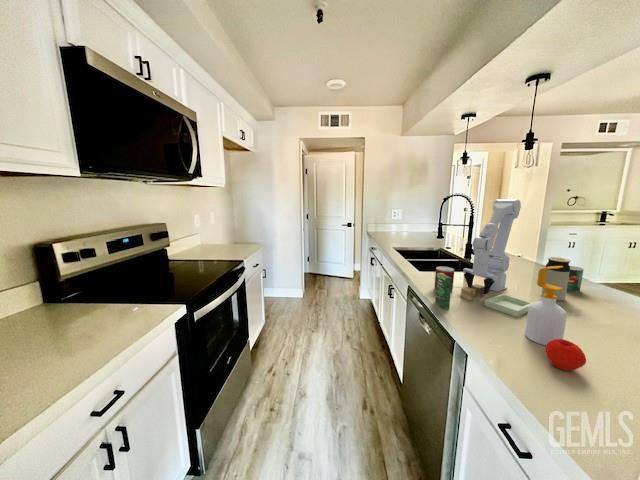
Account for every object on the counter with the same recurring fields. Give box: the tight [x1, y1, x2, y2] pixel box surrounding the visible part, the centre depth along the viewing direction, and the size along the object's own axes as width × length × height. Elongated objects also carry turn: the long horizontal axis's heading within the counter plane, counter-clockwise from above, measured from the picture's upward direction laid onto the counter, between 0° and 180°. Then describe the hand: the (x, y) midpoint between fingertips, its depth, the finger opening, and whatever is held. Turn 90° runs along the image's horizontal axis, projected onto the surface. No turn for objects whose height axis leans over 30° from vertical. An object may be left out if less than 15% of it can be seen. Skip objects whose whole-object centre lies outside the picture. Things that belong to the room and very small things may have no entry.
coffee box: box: [434, 273, 452, 310], centre depth 109 cm, size 8×3×13 cm, turn 0°
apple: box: [545, 338, 587, 372], centre depth 70 cm, size 8×8×7 cm
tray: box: [483, 293, 533, 318], centre depth 107 cm, size 14×12×3 cm
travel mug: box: [541, 256, 572, 302], centre depth 116 cm, size 8×8×18 cm
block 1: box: [460, 286, 476, 300], centre depth 118 cm, size 4×4×4 cm
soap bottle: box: [524, 266, 568, 346], centre depth 82 cm, size 9×9×25 cm
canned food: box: [434, 265, 455, 293], centre depth 126 cm, size 8×8×11 cm
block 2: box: [471, 283, 485, 297], centre depth 122 cm, size 4×4×4 cm
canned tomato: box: [566, 265, 584, 293], centre depth 127 cm, size 8×8×11 cm
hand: (477, 291), depth 122 cm, fingers open, 7 cm apart
